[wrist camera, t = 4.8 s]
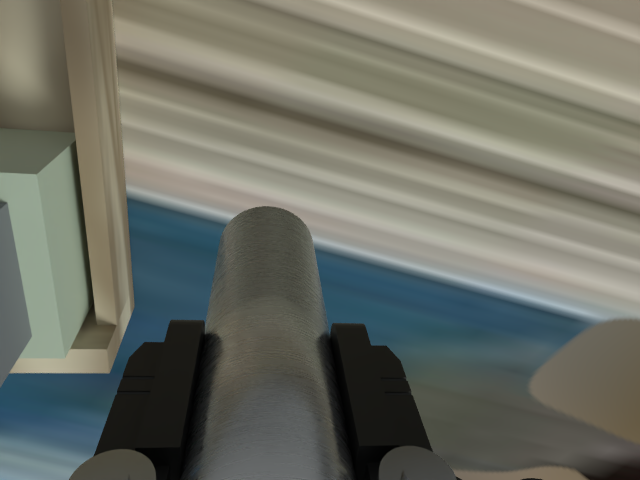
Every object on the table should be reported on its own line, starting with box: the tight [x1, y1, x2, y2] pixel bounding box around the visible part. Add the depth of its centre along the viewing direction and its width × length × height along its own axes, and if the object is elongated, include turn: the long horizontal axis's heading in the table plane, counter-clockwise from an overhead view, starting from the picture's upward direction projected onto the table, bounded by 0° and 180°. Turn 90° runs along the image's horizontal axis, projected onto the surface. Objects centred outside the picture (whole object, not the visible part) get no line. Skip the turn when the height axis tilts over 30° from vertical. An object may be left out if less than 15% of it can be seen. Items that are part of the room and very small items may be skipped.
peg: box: [179, 206, 356, 480], centre depth 10 cm, size 3×3×14 cm
